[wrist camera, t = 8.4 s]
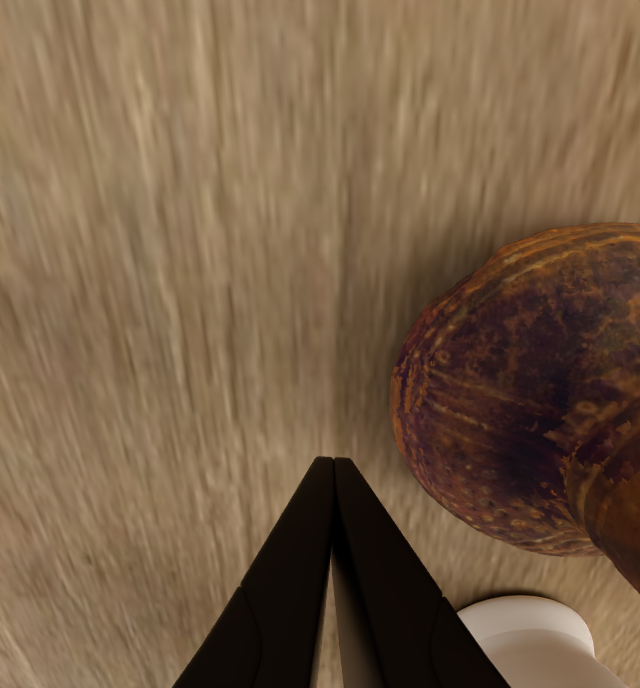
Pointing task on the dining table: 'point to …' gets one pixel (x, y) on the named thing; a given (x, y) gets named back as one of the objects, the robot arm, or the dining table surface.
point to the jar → (537, 643)
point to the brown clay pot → (533, 395)
